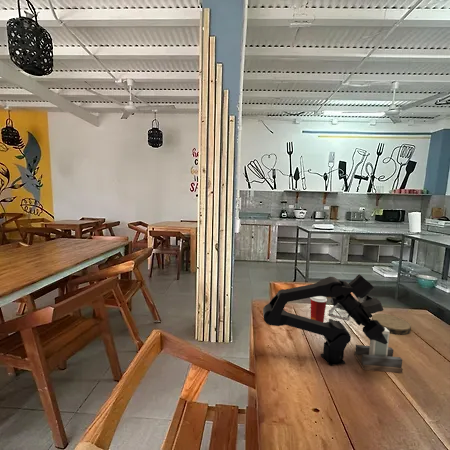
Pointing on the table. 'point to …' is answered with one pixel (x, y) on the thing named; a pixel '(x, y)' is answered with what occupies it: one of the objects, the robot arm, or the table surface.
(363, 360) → the display ledge
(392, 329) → the brown round disc
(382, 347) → the cream slab
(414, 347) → the table surface
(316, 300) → the paper cup
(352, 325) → the table surface
